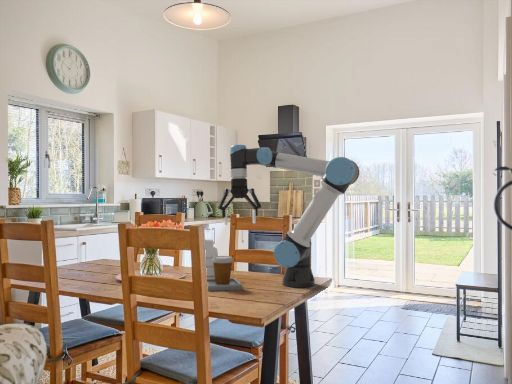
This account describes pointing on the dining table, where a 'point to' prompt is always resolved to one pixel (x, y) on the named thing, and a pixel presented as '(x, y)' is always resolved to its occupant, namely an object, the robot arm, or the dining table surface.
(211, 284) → the grey square tray
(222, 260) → the disposable coffee cup
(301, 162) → the robot arm
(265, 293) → the dining table surface
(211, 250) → the grater
